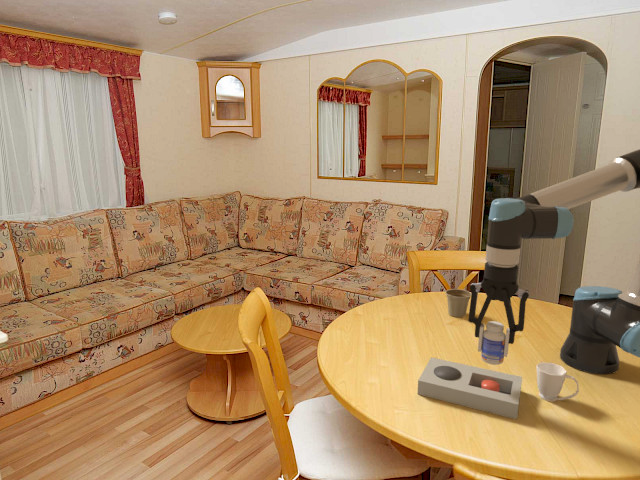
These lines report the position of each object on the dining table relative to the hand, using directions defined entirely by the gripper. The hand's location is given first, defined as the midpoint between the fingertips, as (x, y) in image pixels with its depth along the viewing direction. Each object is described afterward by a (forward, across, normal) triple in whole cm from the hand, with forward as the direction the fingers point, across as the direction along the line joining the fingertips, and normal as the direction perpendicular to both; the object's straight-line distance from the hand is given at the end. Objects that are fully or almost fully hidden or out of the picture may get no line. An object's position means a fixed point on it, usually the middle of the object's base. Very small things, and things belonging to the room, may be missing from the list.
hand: (492, 351), depth 114 cm
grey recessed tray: (+13, +5, 0) cm, 14 cm away
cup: (+13, -15, -7) cm, 21 cm away
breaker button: (+11, 0, 0) cm, 11 cm away
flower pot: (+13, +18, -53) cm, 58 cm away
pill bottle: (+3, 0, 0) cm, 3 cm away
